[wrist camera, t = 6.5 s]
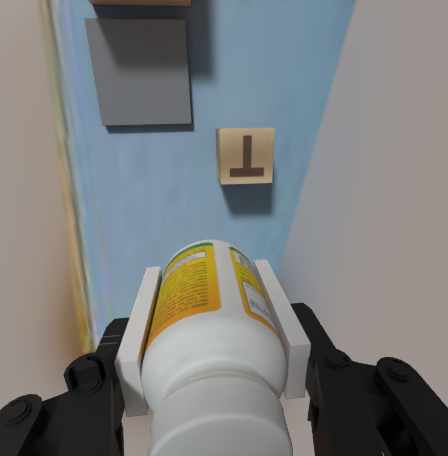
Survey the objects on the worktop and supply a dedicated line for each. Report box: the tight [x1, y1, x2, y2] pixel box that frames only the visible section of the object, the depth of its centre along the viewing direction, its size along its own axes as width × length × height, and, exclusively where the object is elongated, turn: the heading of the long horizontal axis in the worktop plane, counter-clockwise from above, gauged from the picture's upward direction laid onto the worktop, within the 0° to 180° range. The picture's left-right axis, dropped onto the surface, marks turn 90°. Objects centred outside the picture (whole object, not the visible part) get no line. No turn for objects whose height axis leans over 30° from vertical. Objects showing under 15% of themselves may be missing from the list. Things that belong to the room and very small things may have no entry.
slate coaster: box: [85, 19, 192, 126], centre depth 21 cm, size 7×7×1 cm
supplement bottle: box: [141, 240, 293, 456], centre depth 12 cm, size 5×5×10 cm
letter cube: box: [216, 128, 275, 184], centre depth 22 cm, size 4×4×4 cm
